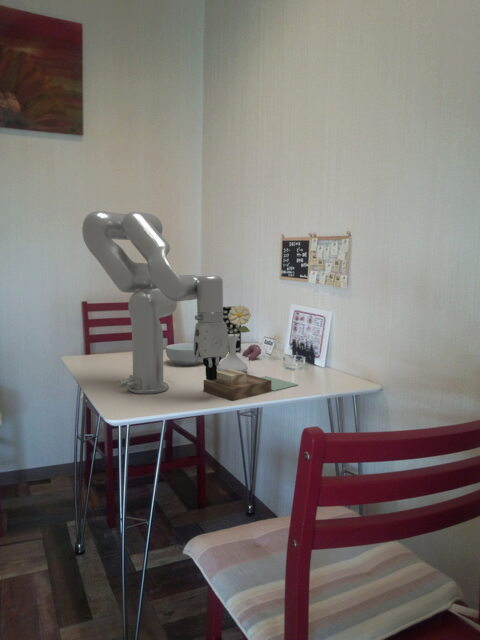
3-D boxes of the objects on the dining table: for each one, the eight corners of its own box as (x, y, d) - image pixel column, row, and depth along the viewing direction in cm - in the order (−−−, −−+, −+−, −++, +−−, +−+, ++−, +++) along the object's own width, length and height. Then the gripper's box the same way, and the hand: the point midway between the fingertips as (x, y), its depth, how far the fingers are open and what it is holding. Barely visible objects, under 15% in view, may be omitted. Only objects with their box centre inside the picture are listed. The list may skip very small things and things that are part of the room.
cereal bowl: (212, 360, 199) (212, 343, 198) (202, 369, 183) (202, 350, 182) (173, 358, 202) (173, 341, 201) (159, 366, 185) (159, 348, 185)
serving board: (232, 400, 141) (232, 389, 141) (203, 391, 151) (203, 380, 151) (271, 391, 152) (271, 380, 151) (241, 382, 162) (241, 372, 162)
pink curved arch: (257, 364, 199) (264, 348, 199) (248, 359, 198) (255, 344, 198) (249, 359, 209) (256, 344, 209) (240, 355, 207) (248, 340, 207)
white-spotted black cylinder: (222, 349, 222) (223, 306, 220) (241, 350, 222) (241, 306, 219) (221, 353, 214) (221, 308, 211) (240, 353, 214) (240, 308, 211)
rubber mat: (273, 391, 152) (273, 390, 151) (241, 382, 163) (241, 381, 163) (298, 385, 159) (298, 384, 159) (266, 377, 170) (266, 376, 170)
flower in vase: (211, 373, 175) (211, 304, 172) (226, 367, 185) (226, 302, 182) (243, 377, 169) (243, 306, 166) (257, 371, 179) (258, 304, 176)
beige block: (231, 386, 144) (231, 376, 144) (214, 380, 150) (214, 371, 150) (246, 382, 148) (246, 373, 148) (229, 377, 154) (229, 368, 154)
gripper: (197, 321, 134) (198, 386, 136) (237, 316, 143) (238, 377, 145) (181, 319, 139) (183, 381, 141) (221, 315, 149) (222, 373, 151)
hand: (211, 379), depth 143 cm, fingers closed
